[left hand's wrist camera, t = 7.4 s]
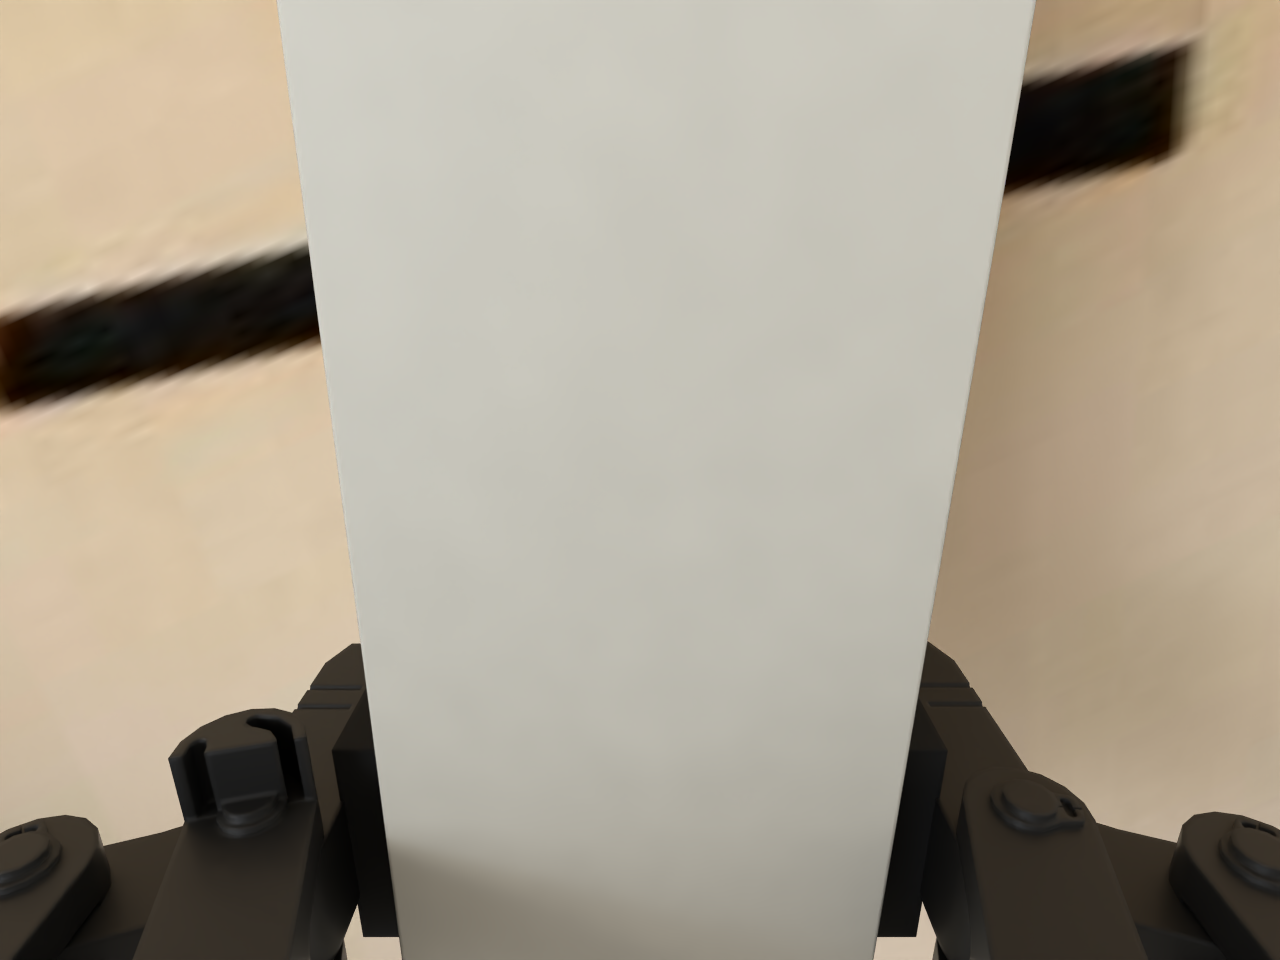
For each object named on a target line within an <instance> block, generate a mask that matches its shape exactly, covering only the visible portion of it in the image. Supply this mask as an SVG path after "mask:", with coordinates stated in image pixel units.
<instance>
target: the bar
mask: <svg viewBox="0 0 1280 960" xmlns="http://www.w3.org/2000/svg"><path fill="white" fill-rule="evenodd" d="M1035 4H1036V0H277V7H278V15H279V23H280V30H281V38H282V45H283V53H284V61H285V68H286V76H287V84H288V91H289V99H290V107H291V114H292V122H293V130H294V137H295V145H296V152H297V160H298V168H299V175H300V183H301V191H302V198H303V206H304V214H305V221H306V229H307V237H308V244H309V252H310V259H311V267H312V275H313V282H314V290H315V298H316V305H317V313H318V321H319V328H320V336H321V343H322V351H323V359H324V366H325V374H326V382H327V389H328V397H329V405H330V412H331V420H332V428H333V435H334V443H335V450H336V458H337V466H338V473H339V481H340V489H341V496H342V504H343V512H344V519H345V527H346V535H347V542H348V550H349V557H350V565H351V573H352V580H353V588H354V596H355V603H356V611H357V619H358V626H359V634H360V642H361V649H362V657H363V664H364V672H365V680H366V687H367V695H368V703H369V710H370V718H371V726H372V733H373V741H374V749H375V756H376V764H377V771H378V779H379V787H380V794H381V802H382V810H383V817H384V825H385V833H386V840H387V848H388V856H389V863H390V871H391V878H392V886H393V894H394V901H395V909H396V917H397V924H398V932H399V940H400V947H401V955H402V960H873V958H874V952H875V946H876V940H877V935H878V929H879V923H880V917H881V911H882V905H883V899H884V893H885V887H886V882H887V876H888V870H889V864H890V858H891V852H892V846H893V840H894V834H895V829H896V823H897V817H898V811H899V805H900V799H901V793H902V787H903V781H904V776H905V770H906V764H907V758H908V752H909V746H910V740H911V734H912V728H913V723H914V717H915V711H916V705H917V699H918V693H919V687H920V681H921V675H922V670H923V664H924V658H925V652H926V646H927V640H928V634H929V628H930V622H931V617H932V611H933V605H934V599H935V593H936V587H937V581H938V575H939V569H940V564H941V558H942V552H943V546H944V540H945V534H946V528H947V522H948V516H949V511H950V505H951V499H952V493H953V487H954V481H955V475H956V469H957V463H958V458H959V452H960V446H961V440H962V434H963V428H964V422H965V416H966V410H967V405H968V399H969V393H970V387H971V381H972V375H973V369H974V363H975V357H976V352H977V346H978V340H979V334H980V328H981V322H982V316H983V310H984V304H985V299H986V293H987V287H988V281H989V275H990V269H991V263H992V257H993V251H994V246H995V240H996V234H997V228H998V222H999V216H1000V210H1001V204H1002V198H1003V193H1004V187H1005V181H1006V175H1007V169H1008V163H1009V157H1010V151H1011V146H1012V140H1013V134H1014V128H1015V122H1016V116H1017V110H1018V104H1019V98H1020V92H1021V87H1022V81H1023V75H1024V69H1025V63H1026V57H1027V51H1028V45H1029V40H1030V34H1031V28H1032V22H1033V16H1034V10H1035Z"/></svg>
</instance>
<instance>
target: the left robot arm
mask: <svg viewBox="0 0 1280 960" xmlns="http://www.w3.org/2000/svg"><path fill="white" fill-rule="evenodd" d="M168 760H169V763H170V767H171V771H172V775H173V779H174V783H175V786H176V790H177V794H178V798H179V802H180V805H181V809H182V813H183V817H184V821H185V822H184V825H183V826H181V827H178V828H175V829H172V830H168V831H165V832H162V833H157V834H153V835H149V836H145V837H140V838H136V839H132V840H128V841H123V842H119V843H115V844H110V845H106V846H103V844H102V840H101V837H100V834H99V831H98V828H97V827H96V826H94V825H93V824H92V823H91V822H90V821H89V820H87V819H86V818H81V817H75V816H69V815H62V816H55V817H48V818H41V819H36V820H33V821H31V822H28V823H25V824H22V825H19V826H16V827H13V828H11V829H8V830H6V831H4V832H2V833H1V834H0V960H347V954H346V948H345V943H344V937H345V934H346V932H347V929H348V927H349V924H350V922H351V919H352V917H353V914H354V912H355V909H356V906H357V904H358V909H359V914H360V920H361V926H362V932H363V937H399V932H398V924H397V917H396V909H395V901H394V894H393V886H392V878H391V871H390V863H389V856H388V848H387V840H386V833H385V825H384V817H383V810H382V802H381V794H380V787H379V779H378V771H377V764H376V756H375V749H374V741H373V733H372V726H371V718H370V710H369V703H368V695H367V687H366V680H365V672H364V664H363V657H362V649H361V644H351V645H350V646H348V647H347V648H345V649H344V650H343V651H341V652H340V653H339V654H337V655H336V656H335V657H333V658H332V659H330V660H329V661H328V662H326V663H325V665H324V666H323V668H322V669H321V671H320V672H319V674H318V675H317V677H316V678H315V680H314V681H313V683H312V684H311V686H310V690H307V692H306V693H305V695H304V696H303V698H302V699H301V701H300V702H299V704H298V709H295V710H294V711H293V713H291V712H287V711H283V710H279V709H275V708H271V709H250V710H246V711H242V712H238V713H234V714H230V715H226V716H224V717H221V718H219V719H217V720H215V721H213V722H210V723H208V724H206V725H204V726H202V727H200V728H199V729H197V730H196V731H195V732H193V733H192V734H191V735H189V736H188V737H186V738H185V739H184V740H182V741H181V742H180V743H179V745H178V746H177V747H176V749H175V750H174V751H173V753H172V754H171V755H170V757H169V758H168ZM922 902H923V904H924V907H925V909H926V912H927V914H928V917H929V919H930V922H931V924H932V927H933V929H934V932H935V934H936V937H937V938H936V943H935V948H934V954H933V959H932V960H1280V830H1279V829H1277V828H1275V827H1273V826H1271V825H1268V824H1265V823H1262V822H1259V821H1257V820H1254V819H1251V818H1248V817H1245V816H1242V815H1235V814H1228V813H1221V812H1210V813H1203V814H1197V815H1194V816H1192V817H1191V818H1190V819H1189V820H1188V821H1187V822H1185V823H1184V824H1183V825H1182V828H1181V832H1180V835H1179V838H1178V841H1177V843H1175V842H1170V841H1166V840H1162V839H1158V838H1153V837H1149V836H1145V835H1140V834H1136V833H1132V832H1127V831H1123V830H1119V829H1115V828H1112V827H1109V826H1106V825H1102V824H1099V823H1096V821H1095V819H1094V818H1093V816H1092V815H1091V813H1090V811H1089V810H1088V808H1087V807H1086V805H1085V804H1084V802H1082V801H1081V800H1080V799H1079V798H1078V797H1076V796H1075V795H1074V794H1073V793H1072V792H1070V791H1069V790H1068V789H1067V788H1066V787H1064V786H1062V785H1060V784H1058V783H1056V782H1055V781H1053V780H1051V779H1049V778H1047V777H1045V776H1043V775H1041V774H1037V773H1034V772H1030V771H1028V770H1027V768H1026V767H1025V765H1024V764H1023V762H1022V761H1021V759H1020V758H1019V756H1018V755H1017V753H1016V752H1015V750H1014V749H1013V747H1012V746H1011V744H1010V743H1009V741H1008V740H1007V739H1006V737H1005V736H1004V734H1003V733H1002V731H1001V730H1000V728H999V727H998V725H997V724H996V722H995V721H994V719H993V718H992V716H991V715H990V713H989V712H988V710H987V709H986V707H983V706H982V701H981V700H980V698H979V697H978V695H977V694H976V692H975V691H974V689H973V688H970V686H969V682H968V680H967V679H966V677H965V676H964V674H963V673H962V671H961V670H960V668H959V667H958V665H957V664H956V662H955V661H954V660H953V659H951V658H950V657H949V656H947V655H946V654H944V653H943V652H942V651H940V650H939V649H938V648H936V647H935V646H933V645H932V644H931V643H929V642H928V641H927V646H926V652H925V658H924V664H923V670H922V675H921V681H920V687H919V693H918V699H917V705H916V711H915V717H914V723H913V728H912V734H911V740H910V746H909V752H908V758H907V764H906V770H905V776H904V781H903V787H902V793H901V799H900V805H899V811H898V817H897V823H896V829H895V834H894V840H893V846H892V852H891V858H890V864H889V870H888V876H887V882H886V887H885V893H884V899H883V905H882V911H881V917H880V923H879V929H878V935H877V937H916V935H917V929H918V923H919V917H920V911H921V905H922Z"/></svg>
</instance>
